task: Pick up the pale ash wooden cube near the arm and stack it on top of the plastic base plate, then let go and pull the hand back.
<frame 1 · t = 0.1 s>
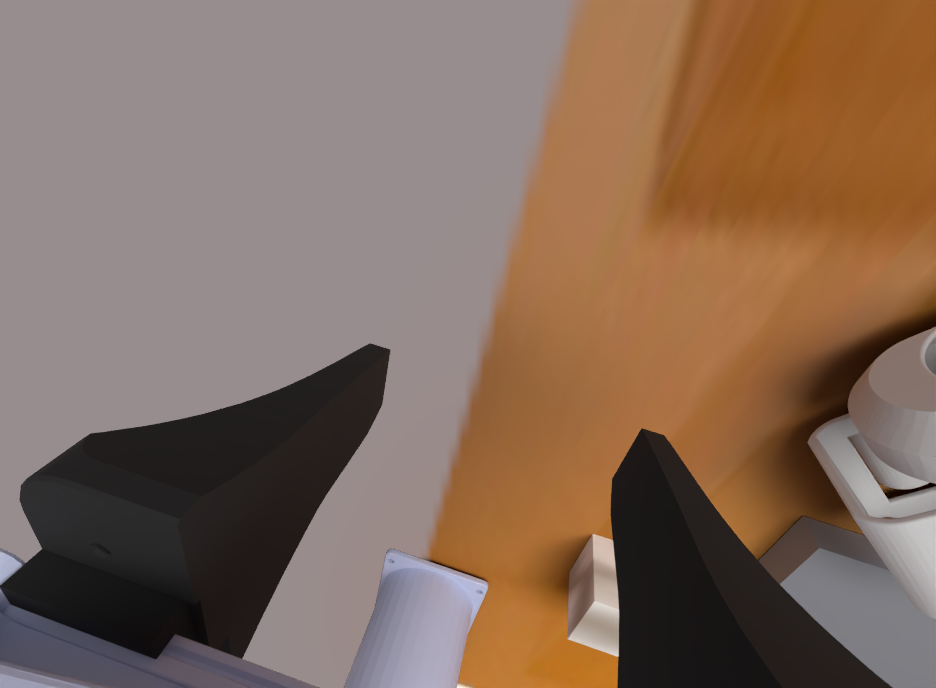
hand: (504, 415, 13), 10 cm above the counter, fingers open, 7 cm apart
ash cube: (613, 563, 30), on the counter
base plate: (826, 637, 29), on the counter
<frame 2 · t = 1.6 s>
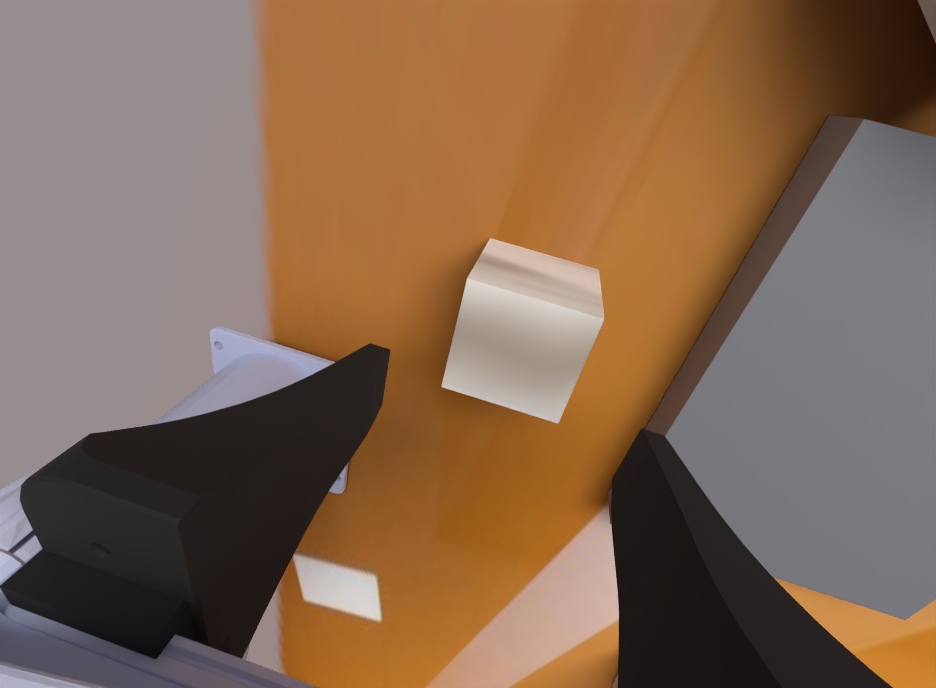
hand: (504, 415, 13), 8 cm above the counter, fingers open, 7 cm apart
ash cube: (528, 301, 19), on the counter
base plate: (860, 402, 18), on the counter
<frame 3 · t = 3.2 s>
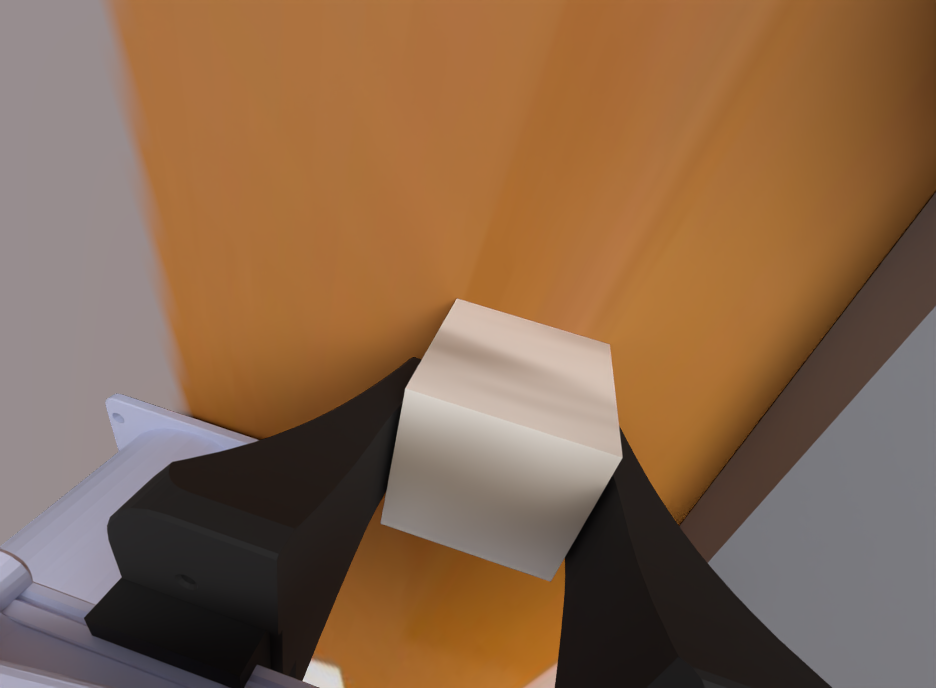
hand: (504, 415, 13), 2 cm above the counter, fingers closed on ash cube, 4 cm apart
ash cube: (511, 382, 14), on the counter, touching gripper
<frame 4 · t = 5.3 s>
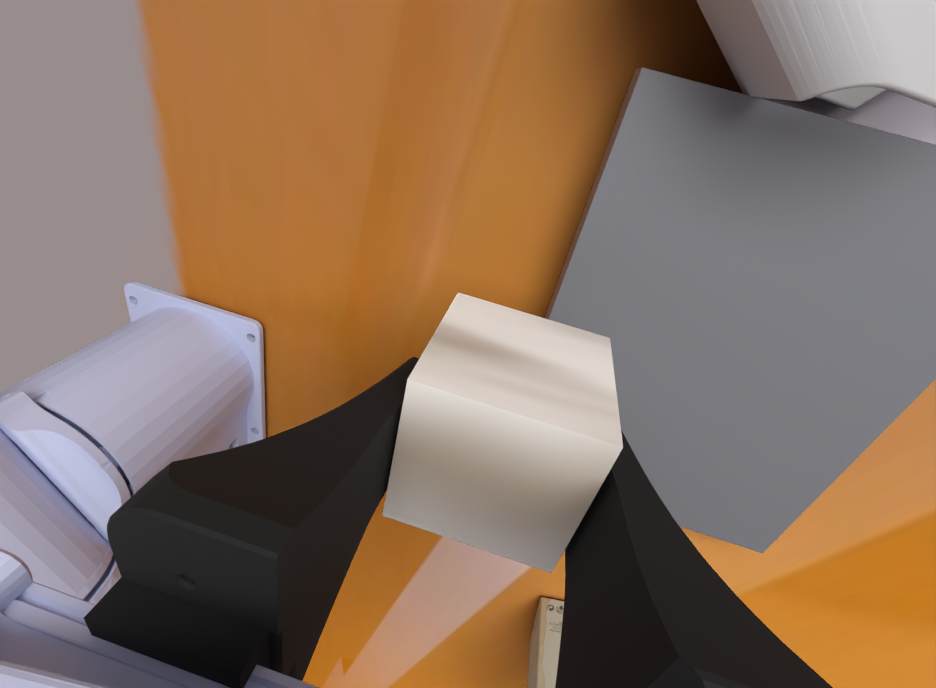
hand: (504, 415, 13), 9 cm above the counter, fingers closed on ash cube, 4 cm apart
ash cube: (512, 376, 14), point 7 cm above the counter, touching gripper
skincare box: (565, 622, 32), on the counter
base plate: (704, 344, 20), on the counter
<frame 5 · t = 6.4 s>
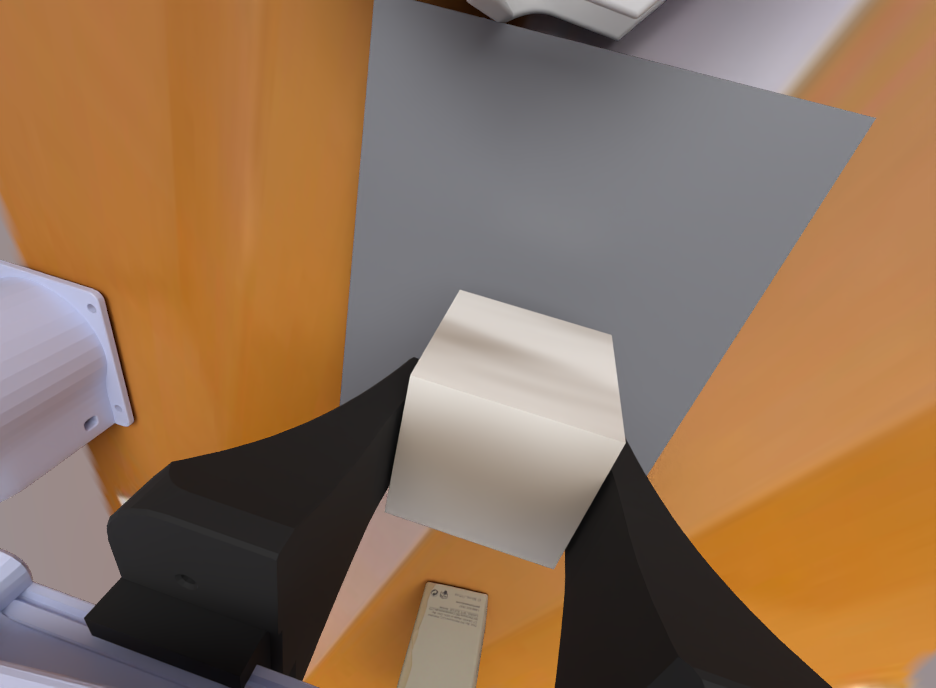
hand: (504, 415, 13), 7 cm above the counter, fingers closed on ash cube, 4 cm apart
ash cube: (513, 373, 14), point 5 cm above the counter, touching gripper
skincare box: (458, 608, 31), on the counter
base plate: (528, 306, 19), on the counter
when the fingers open (4 cm above the counter, at t = 7.5 s): ash cube stays where it is, resting on base plate.
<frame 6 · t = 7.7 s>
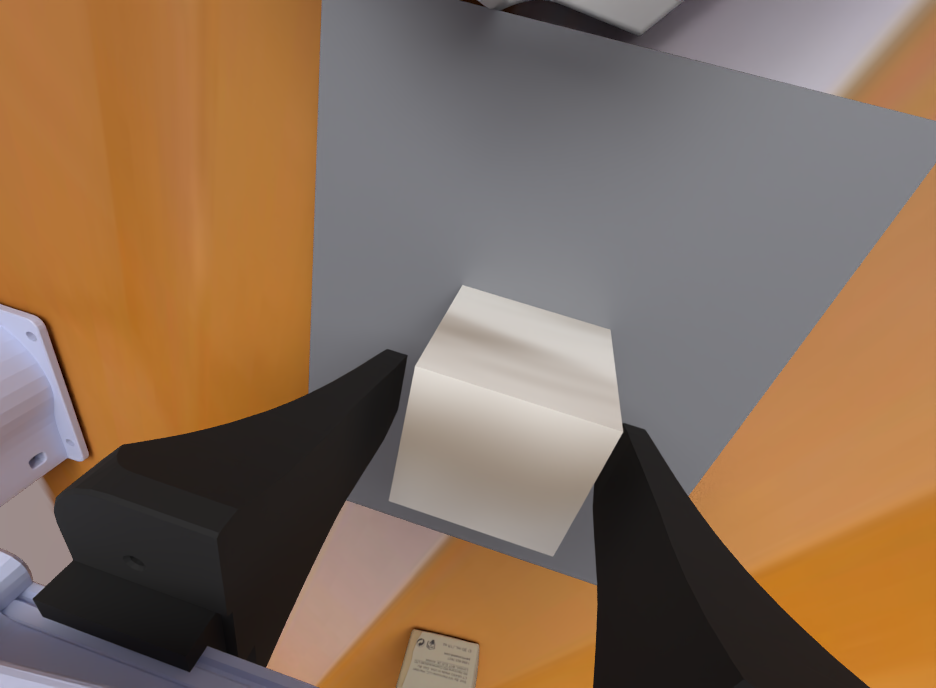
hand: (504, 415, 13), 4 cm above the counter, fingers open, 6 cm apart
ash cube: (514, 367, 14), point 2 cm above the counter, touching base plate
skincare box: (447, 655, 29), on the counter
base plate: (520, 342, 16), on the counter
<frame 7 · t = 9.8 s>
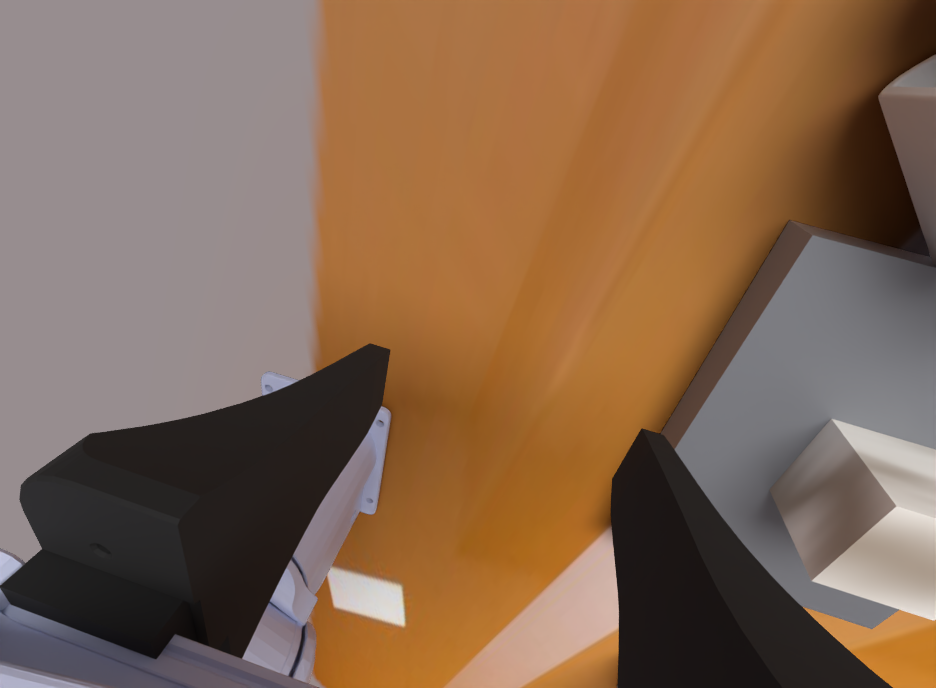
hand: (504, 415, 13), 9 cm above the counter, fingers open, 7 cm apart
ash cube: (850, 472, 19), point 2 cm above the counter, touching base plate
base plate: (827, 443, 21), on the counter
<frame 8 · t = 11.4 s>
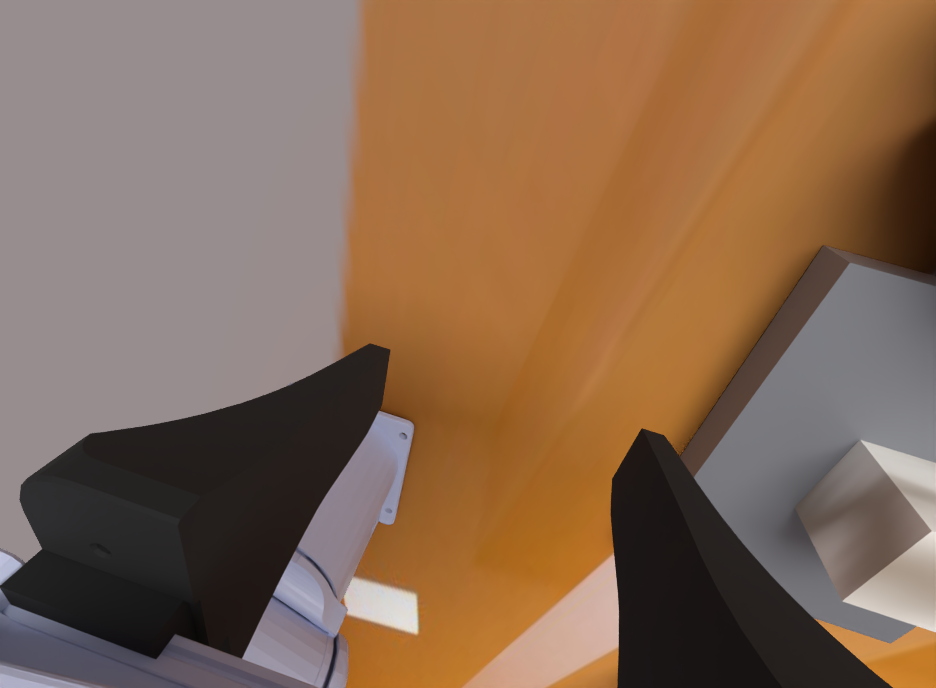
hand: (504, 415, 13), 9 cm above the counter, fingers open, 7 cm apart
ash cube: (876, 491, 20), point 2 cm above the counter, touching base plate
base plate: (851, 462, 21), on the counter
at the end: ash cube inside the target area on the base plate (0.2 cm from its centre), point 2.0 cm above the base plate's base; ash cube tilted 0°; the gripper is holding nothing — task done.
